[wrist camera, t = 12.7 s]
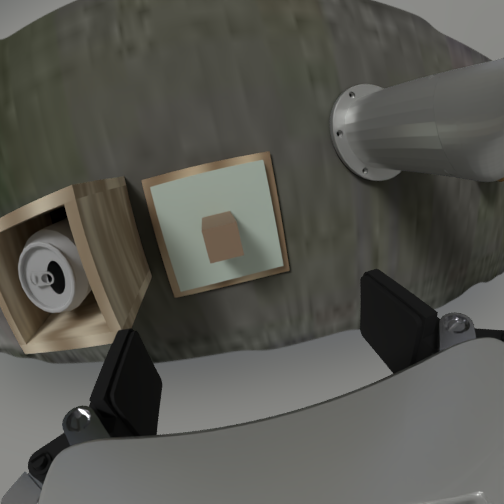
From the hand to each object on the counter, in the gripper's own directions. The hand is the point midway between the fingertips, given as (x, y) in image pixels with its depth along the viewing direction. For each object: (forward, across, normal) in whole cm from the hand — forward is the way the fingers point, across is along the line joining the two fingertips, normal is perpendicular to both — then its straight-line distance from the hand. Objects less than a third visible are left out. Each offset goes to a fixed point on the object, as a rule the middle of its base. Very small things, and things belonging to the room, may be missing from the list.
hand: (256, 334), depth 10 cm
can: (+21, +16, -2) cm, 26 cm away
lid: (+21, +1, 0) cm, 21 cm away
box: (+21, +16, -2) cm, 26 cm away
